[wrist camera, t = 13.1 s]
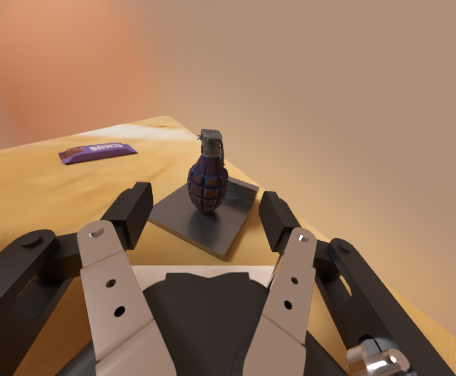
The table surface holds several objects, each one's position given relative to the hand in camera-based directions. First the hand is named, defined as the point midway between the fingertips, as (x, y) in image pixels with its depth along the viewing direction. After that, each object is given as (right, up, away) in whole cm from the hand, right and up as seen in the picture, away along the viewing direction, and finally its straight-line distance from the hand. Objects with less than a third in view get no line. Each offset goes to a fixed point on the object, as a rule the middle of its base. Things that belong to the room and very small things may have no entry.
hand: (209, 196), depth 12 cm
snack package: (-24, +7, +21) cm, 32 cm away
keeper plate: (-2, -2, +11) cm, 11 cm away
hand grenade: (-2, -2, +10) cm, 11 cm away
